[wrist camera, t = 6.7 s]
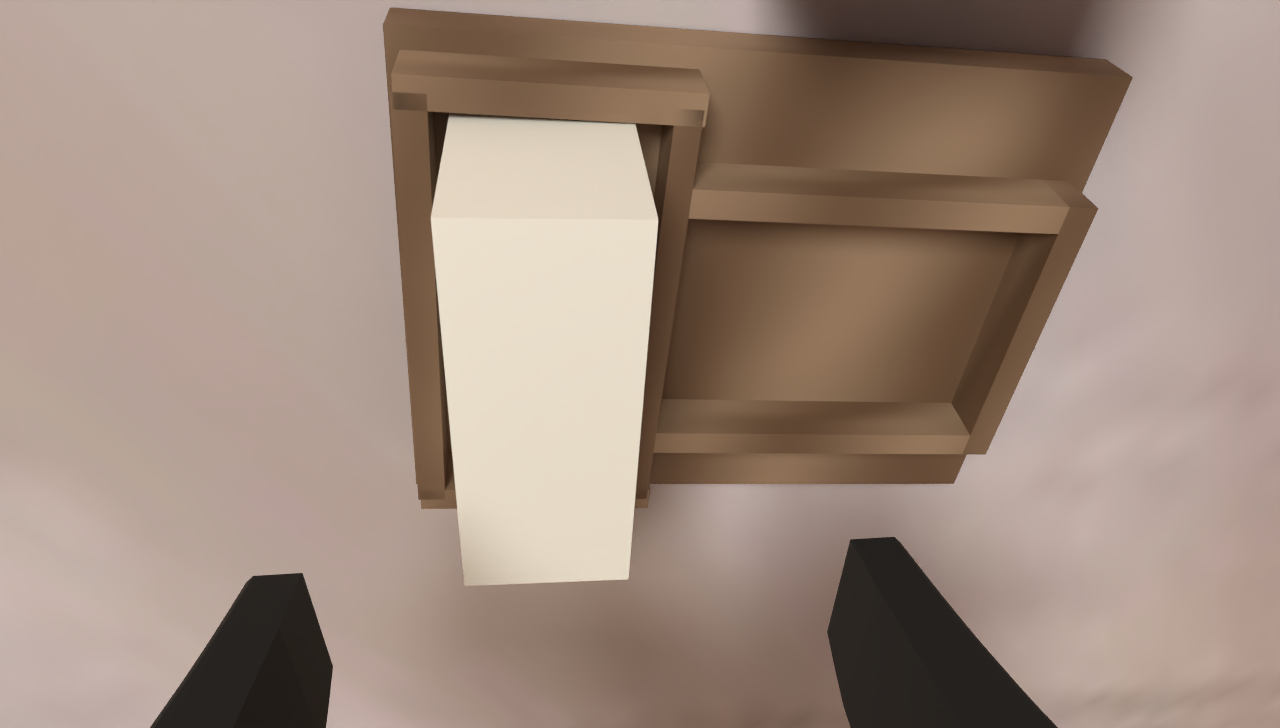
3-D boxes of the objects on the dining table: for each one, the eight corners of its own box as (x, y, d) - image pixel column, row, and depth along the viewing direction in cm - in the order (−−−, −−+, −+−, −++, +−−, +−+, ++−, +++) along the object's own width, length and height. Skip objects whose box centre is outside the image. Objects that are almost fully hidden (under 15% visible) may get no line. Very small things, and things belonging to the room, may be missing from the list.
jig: (1105, 60, 18) (1168, 101, 16) (939, 457, 24) (971, 516, 23) (389, 7, 16) (373, 47, 14) (420, 455, 23) (411, 520, 21)
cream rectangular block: (629, 99, 16) (658, 220, 13) (611, 425, 21) (628, 579, 18) (452, 95, 16) (430, 218, 12) (475, 427, 21) (464, 586, 17)
